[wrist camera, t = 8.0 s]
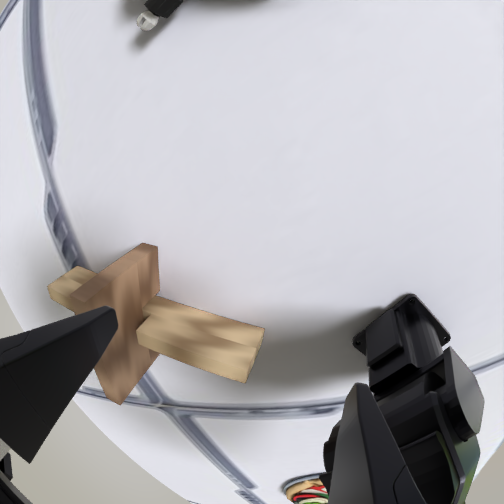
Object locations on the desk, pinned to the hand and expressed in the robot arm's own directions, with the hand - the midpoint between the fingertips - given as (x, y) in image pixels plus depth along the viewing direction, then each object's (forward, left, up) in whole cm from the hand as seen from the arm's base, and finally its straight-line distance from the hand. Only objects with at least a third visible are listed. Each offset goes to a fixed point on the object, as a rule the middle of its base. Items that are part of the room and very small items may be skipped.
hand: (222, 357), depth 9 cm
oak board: (+5, +14, -12) cm, 19 cm away
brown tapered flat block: (+5, +14, -12) cm, 19 cm away
